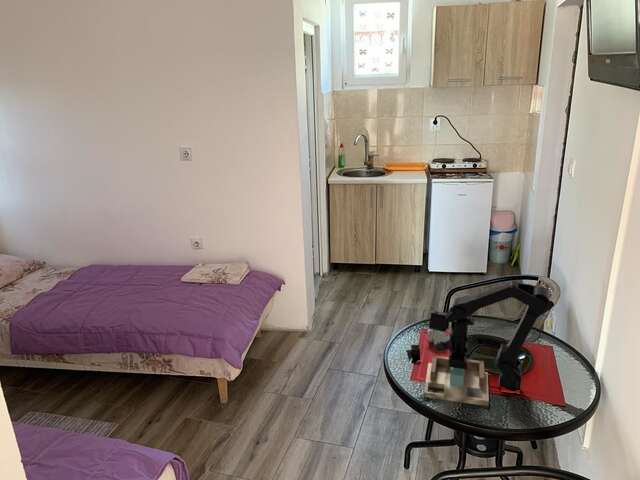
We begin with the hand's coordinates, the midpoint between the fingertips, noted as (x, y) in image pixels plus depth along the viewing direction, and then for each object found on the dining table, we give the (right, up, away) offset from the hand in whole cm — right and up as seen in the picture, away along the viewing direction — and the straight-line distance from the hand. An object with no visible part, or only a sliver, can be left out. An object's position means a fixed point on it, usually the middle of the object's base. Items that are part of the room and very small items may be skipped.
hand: (457, 370), depth 179 cm
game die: (-2, +5, +24) cm, 25 cm away
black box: (-12, +1, +16) cm, 20 cm away
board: (-1, -4, -3) cm, 5 cm away
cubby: (0, -1, 0) cm, 1 cm away
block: (-1, -3, -5) cm, 6 cm away
